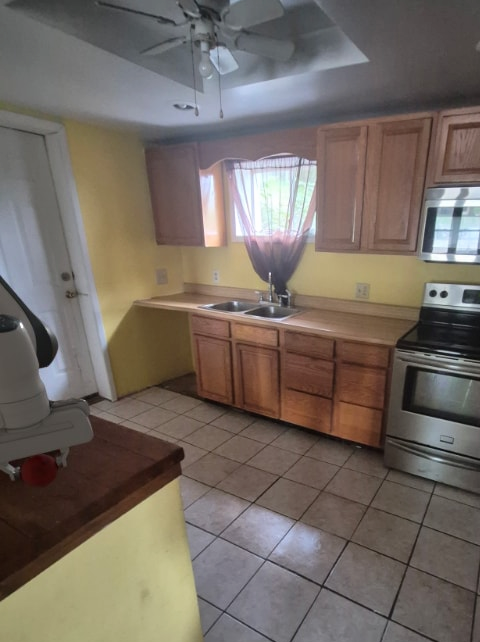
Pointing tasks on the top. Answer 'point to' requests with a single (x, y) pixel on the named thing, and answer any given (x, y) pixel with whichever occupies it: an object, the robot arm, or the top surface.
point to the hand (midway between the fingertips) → (40, 472)
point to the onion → (39, 470)
